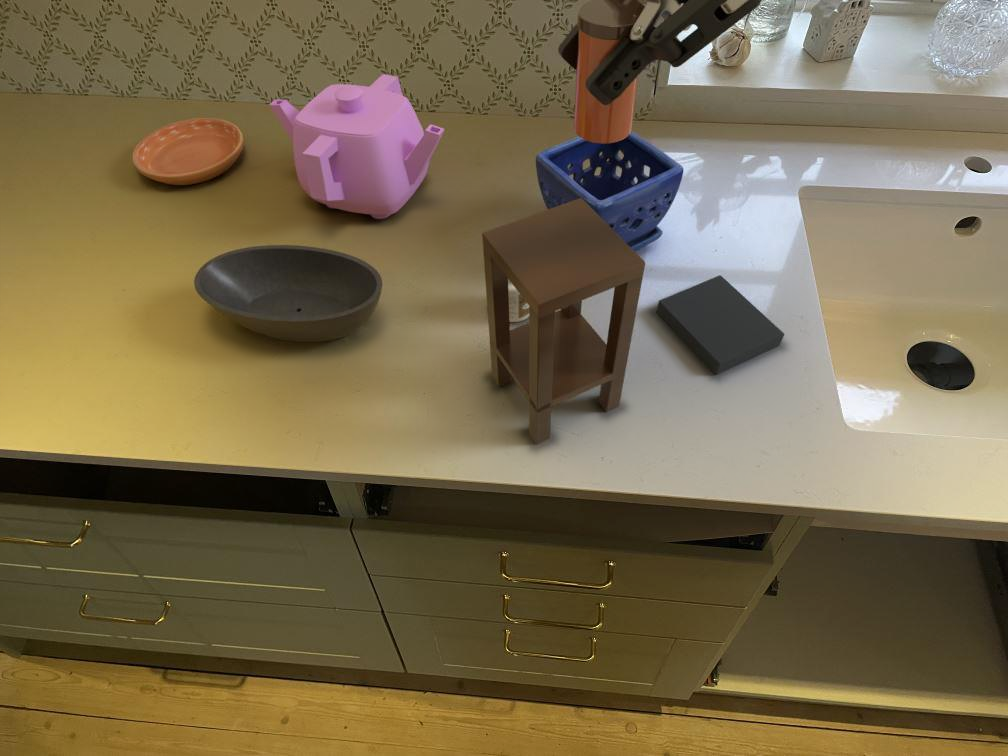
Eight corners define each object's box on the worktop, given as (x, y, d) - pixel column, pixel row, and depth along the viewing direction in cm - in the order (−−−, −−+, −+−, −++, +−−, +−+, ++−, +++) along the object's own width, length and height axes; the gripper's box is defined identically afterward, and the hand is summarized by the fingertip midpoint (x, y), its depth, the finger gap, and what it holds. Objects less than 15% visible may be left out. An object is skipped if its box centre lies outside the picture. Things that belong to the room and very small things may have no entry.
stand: (619, 407, 68) (645, 262, 53) (536, 445, 66) (538, 304, 50) (570, 344, 74) (581, 197, 58) (492, 377, 71) (481, 232, 56)
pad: (779, 345, 73) (785, 333, 71) (715, 375, 71) (719, 364, 69) (716, 286, 79) (720, 274, 78) (655, 312, 77) (658, 300, 75)
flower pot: (530, 231, 87) (530, 151, 78) (608, 196, 91) (617, 117, 82) (590, 288, 80) (598, 207, 70) (672, 247, 84) (690, 167, 75)
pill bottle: (529, 325, 76) (529, 276, 70) (492, 321, 77) (489, 272, 71) (535, 299, 79) (535, 249, 73) (499, 295, 79) (497, 246, 73)
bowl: (239, 276, 83) (221, 237, 78) (404, 294, 80) (396, 255, 75) (194, 345, 76) (171, 308, 71) (374, 369, 73) (363, 331, 68)
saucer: (210, 123, 107) (203, 105, 105) (269, 157, 100) (262, 139, 98) (121, 167, 100) (111, 149, 97) (177, 207, 93) (168, 189, 90)
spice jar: (645, 133, 47) (662, 15, 40) (593, 151, 45) (602, 32, 39) (611, 106, 49) (622, -9, 43) (561, 122, 48) (565, 6, 42)
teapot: (455, 209, 90) (444, 106, 79) (330, 250, 86) (298, 147, 74) (406, 143, 101) (389, 44, 90) (292, 176, 97) (259, 76, 85)
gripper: (700, -254, 38) (509, 1, 46) (851, -205, 30) (586, 99, 37) (755, -151, 43) (576, 63, 51) (899, -84, 35) (657, 162, 42)
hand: (581, 77), depth 44 cm, fingers closed on spice jar, 4 cm apart
